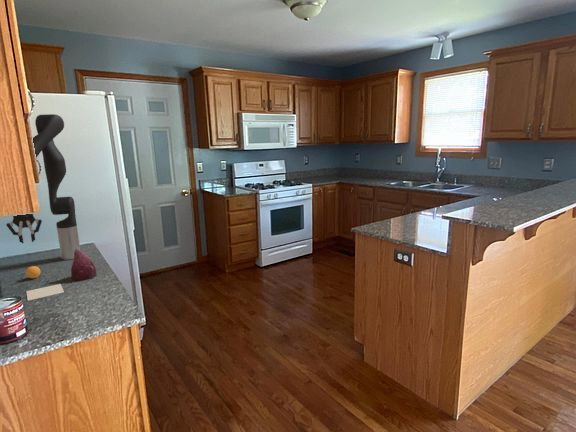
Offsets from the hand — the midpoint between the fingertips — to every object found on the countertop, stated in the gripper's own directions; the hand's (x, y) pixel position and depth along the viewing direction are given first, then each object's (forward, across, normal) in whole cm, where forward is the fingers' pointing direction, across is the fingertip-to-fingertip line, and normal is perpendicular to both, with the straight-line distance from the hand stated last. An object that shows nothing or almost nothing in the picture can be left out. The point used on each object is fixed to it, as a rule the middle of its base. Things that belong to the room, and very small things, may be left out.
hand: (27, 242), depth 164 cm
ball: (+12, 0, +10) cm, 16 cm away
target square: (+15, -2, +34) cm, 37 cm away
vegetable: (+15, -18, +24) cm, 34 cm away
